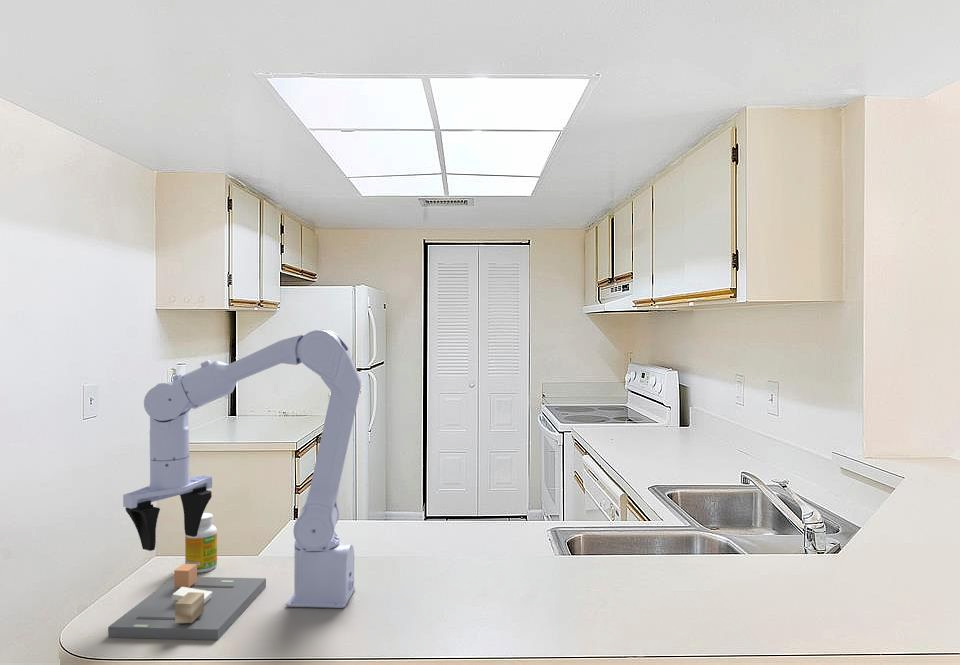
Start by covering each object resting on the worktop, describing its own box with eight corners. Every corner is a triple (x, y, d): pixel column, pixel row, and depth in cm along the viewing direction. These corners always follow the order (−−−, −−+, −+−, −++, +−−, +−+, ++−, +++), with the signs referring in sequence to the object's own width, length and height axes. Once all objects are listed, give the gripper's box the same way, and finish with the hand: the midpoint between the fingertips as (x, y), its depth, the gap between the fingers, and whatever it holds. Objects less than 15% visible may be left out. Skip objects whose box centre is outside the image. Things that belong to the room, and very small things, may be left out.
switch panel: (265, 587, 114) (265, 576, 114) (217, 639, 95) (217, 626, 95) (174, 585, 114) (174, 574, 114) (108, 637, 96) (108, 624, 95)
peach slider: (197, 580, 112) (197, 564, 112) (188, 587, 109) (188, 570, 109) (183, 580, 112) (183, 563, 112) (174, 587, 109) (174, 570, 109)
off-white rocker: (211, 596, 106) (212, 591, 106) (203, 604, 103) (204, 599, 103) (181, 591, 106) (182, 586, 106) (171, 599, 103) (172, 594, 103)
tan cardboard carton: (204, 611, 100) (204, 592, 100) (191, 623, 96) (191, 603, 96) (188, 610, 100) (188, 592, 100) (175, 622, 96) (175, 603, 96)
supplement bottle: (205, 574, 119) (205, 520, 119) (178, 572, 120) (178, 519, 120) (222, 564, 125) (222, 512, 124) (197, 562, 126) (197, 510, 125)
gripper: (192, 447, 115) (193, 526, 115) (110, 463, 102) (111, 551, 102) (220, 451, 111) (221, 532, 111) (139, 468, 98) (140, 559, 99)
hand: (170, 542), depth 106 cm, fingers open, 7 cm apart
